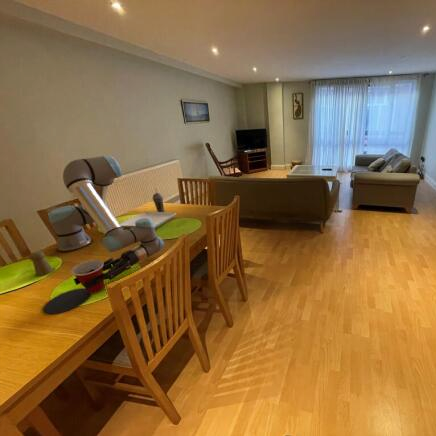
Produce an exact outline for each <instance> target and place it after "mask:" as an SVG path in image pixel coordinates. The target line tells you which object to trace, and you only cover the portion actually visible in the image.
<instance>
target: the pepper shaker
mask: <svg viewBox="0 0 436 436" xmlns="http://www.w3.org/2000/svg"><path fill="white" fill-rule="evenodd" d="M45 256H46V255H45V252H43V251H35V252H32V253H31V254H29V255H28V259H29V260H30V261H31V262H32V264H33V268H34V271H35V275H36V276H37V277H43V276H46V275H49V274H51V273H52V272H53V271H54V268H53V267H52V266H51V264H50V263H49V262H48V260H47V259H46V258H45Z"/></svg>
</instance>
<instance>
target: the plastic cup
mask: <svg viewBox="0 0 436 436" xmlns="http://www.w3.org/2000/svg"><path fill="white" fill-rule="evenodd" d="M103 262H104V261H103V260H100V259H90V260H86V261H83V262H80V263H78V264H76V265H75V266H73V267H72V269H70V274H72V275H73V276H74V277H75V278H77V279H78V280H79V281H80V282H81V283H80V284H81V285H82V286H83V288H84V289H86V287H85V285H84V283H85V282H87V281H89V280H91V279H93V278H95V277H97V276H99V275H101V274H102V273H104V271H103V265H104V263H103ZM94 269H95V270H94ZM90 270H94V271H93V272H90V273H87V272H89V271H90ZM85 273H87V274H85ZM102 276H103V274H102ZM103 289H105V280H103V281H101V282H100V283H98V284H96V285H94V286H92V287H90V288H88V289H86V290H87V291H88V292H89V293H91V294H96V293H98V292H100V291H102V290H103Z"/></svg>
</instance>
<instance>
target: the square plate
mask: <svg viewBox="0 0 436 436" xmlns="http://www.w3.org/2000/svg"><path fill="white" fill-rule="evenodd" d="M176 215H177V213H176V212H166V211H164V212H158V211H142V212H140V213H139V214H136V215H134V216H133V217H130V218H128V219H126V220H124V221H122V222H120V223H119V224H120V225H121V227H122V228H123V229H129V228H132V227H135V225H136V224H135V222H136V221H138V220H139V219H143V218H149V219H151V220H152V222H153V224H154V228H155V229H156V228H158V227H159V226H161V225H163V224H165V223H166V222H168V221H170V220H171V219H172V218H174V217H175V216H176Z"/></svg>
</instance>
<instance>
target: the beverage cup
mask: <svg viewBox="0 0 436 436" xmlns="http://www.w3.org/2000/svg"><path fill="white" fill-rule="evenodd" d="M154 188H155V193H154V194H153V195H152V201H153V203H154V205H155V208H156V212H165V207H164V197H163V195H162V194H161V193H158V191H157V187H154Z"/></svg>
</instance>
